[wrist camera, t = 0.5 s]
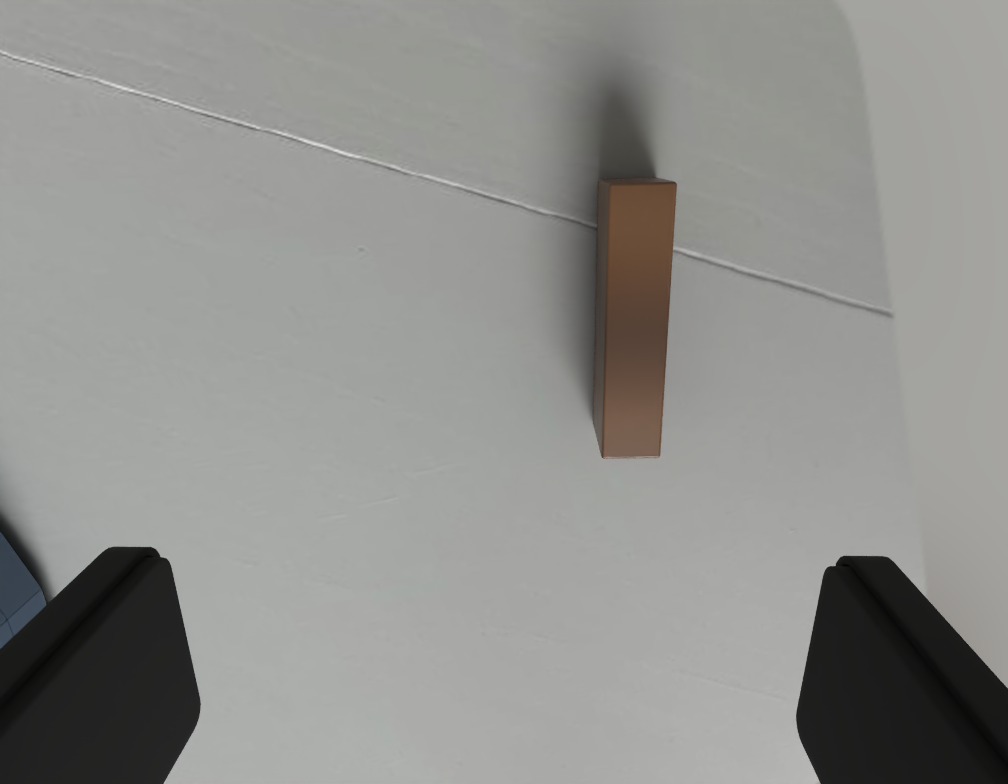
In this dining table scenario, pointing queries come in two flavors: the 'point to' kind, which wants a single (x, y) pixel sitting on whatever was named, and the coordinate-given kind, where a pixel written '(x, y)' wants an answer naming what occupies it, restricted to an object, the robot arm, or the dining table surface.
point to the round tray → (16, 593)
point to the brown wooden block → (632, 313)
